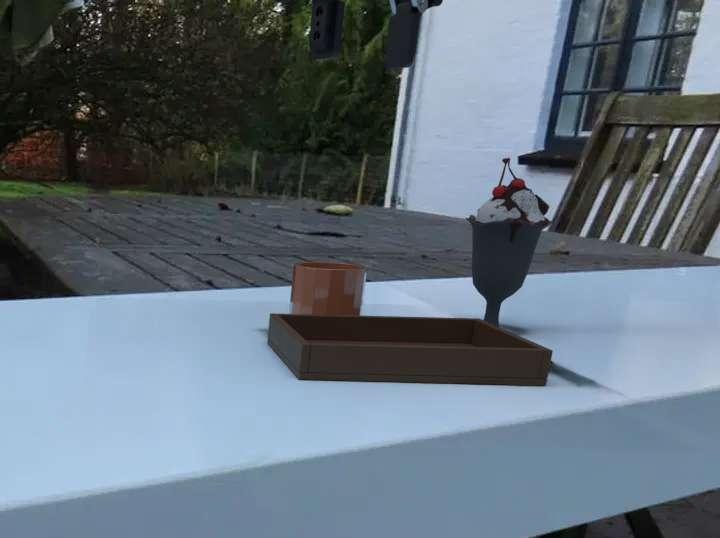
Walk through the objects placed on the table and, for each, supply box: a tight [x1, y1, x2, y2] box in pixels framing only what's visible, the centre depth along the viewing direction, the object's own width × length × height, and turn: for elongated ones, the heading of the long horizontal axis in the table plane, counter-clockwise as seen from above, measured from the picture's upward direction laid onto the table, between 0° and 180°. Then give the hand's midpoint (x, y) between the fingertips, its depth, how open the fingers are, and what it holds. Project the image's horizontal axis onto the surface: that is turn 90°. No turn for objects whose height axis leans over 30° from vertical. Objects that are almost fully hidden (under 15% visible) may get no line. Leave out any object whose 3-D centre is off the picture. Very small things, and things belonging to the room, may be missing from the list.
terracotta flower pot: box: [288, 261, 368, 316], centre depth 80 cm, size 6×6×6 cm
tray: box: [267, 313, 554, 387], centre depth 70 cm, size 17×13×2 cm
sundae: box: [465, 157, 553, 327], centre depth 77 cm, size 7×7×15 cm
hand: (362, 63), depth 70 cm, fingers open, 8 cm apart
